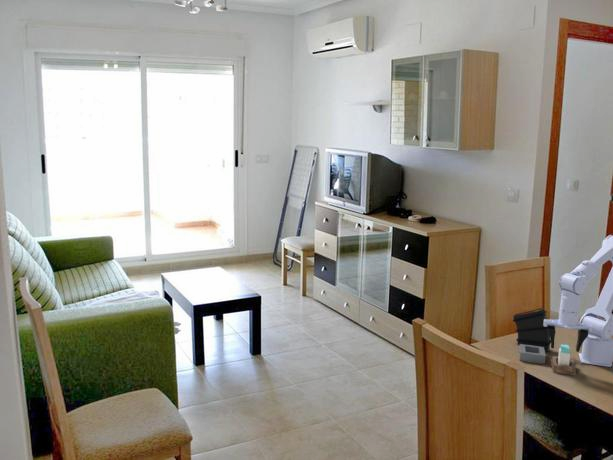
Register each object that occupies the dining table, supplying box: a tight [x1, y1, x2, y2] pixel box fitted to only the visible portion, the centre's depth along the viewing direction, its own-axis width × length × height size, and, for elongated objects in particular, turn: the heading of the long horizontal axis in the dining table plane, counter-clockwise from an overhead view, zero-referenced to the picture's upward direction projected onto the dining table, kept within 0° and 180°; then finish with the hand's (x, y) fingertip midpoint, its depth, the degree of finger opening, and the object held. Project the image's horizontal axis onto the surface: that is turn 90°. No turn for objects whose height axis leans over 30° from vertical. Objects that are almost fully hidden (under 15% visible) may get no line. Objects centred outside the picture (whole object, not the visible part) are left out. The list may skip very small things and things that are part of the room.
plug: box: [557, 343, 571, 366], centre depth 191 cm, size 3×4×8 cm
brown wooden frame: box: [550, 355, 576, 376], centre depth 192 cm, size 7×8×2 cm
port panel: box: [518, 344, 546, 365], centre depth 200 cm, size 8×8×3 cm
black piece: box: [512, 307, 551, 352], centre depth 209 cm, size 4×13×15 cm, turn 54°
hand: (564, 349), depth 190 cm, fingers open, 7 cm apart
